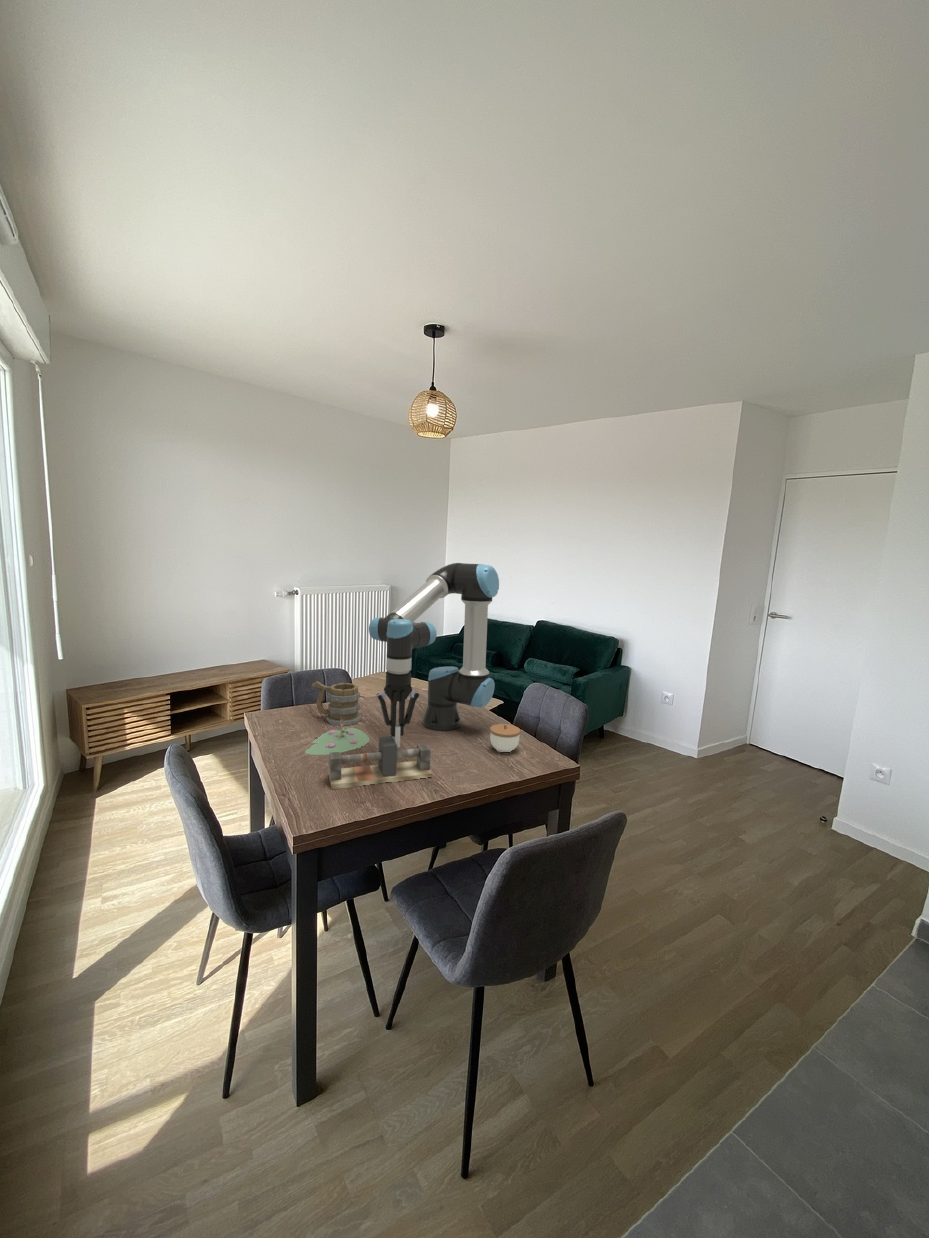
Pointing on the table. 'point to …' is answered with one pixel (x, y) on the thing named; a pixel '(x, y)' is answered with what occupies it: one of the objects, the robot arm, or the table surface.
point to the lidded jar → (504, 737)
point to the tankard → (340, 703)
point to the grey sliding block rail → (377, 768)
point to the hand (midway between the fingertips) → (396, 745)
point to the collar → (388, 755)
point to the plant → (338, 741)
